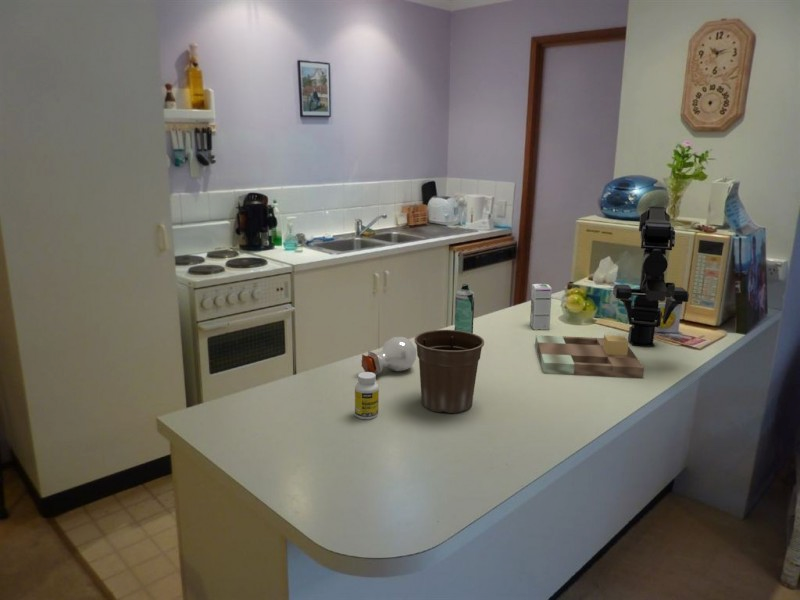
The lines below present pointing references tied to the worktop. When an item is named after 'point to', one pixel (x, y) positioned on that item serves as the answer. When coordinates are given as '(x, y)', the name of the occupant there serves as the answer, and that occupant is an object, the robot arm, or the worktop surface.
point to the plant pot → (448, 368)
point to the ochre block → (615, 345)
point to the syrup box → (540, 306)
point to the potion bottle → (391, 356)
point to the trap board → (584, 357)
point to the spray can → (464, 309)
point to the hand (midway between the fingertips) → (646, 322)
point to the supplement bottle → (366, 396)
